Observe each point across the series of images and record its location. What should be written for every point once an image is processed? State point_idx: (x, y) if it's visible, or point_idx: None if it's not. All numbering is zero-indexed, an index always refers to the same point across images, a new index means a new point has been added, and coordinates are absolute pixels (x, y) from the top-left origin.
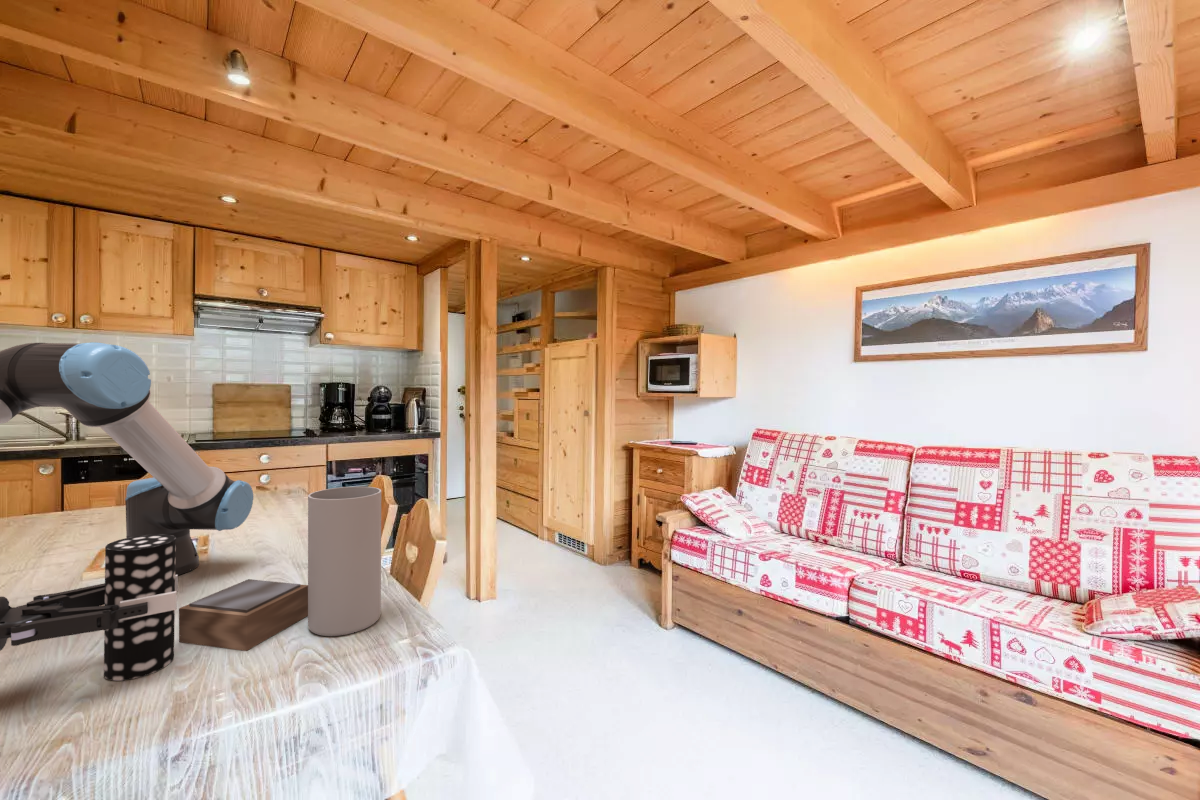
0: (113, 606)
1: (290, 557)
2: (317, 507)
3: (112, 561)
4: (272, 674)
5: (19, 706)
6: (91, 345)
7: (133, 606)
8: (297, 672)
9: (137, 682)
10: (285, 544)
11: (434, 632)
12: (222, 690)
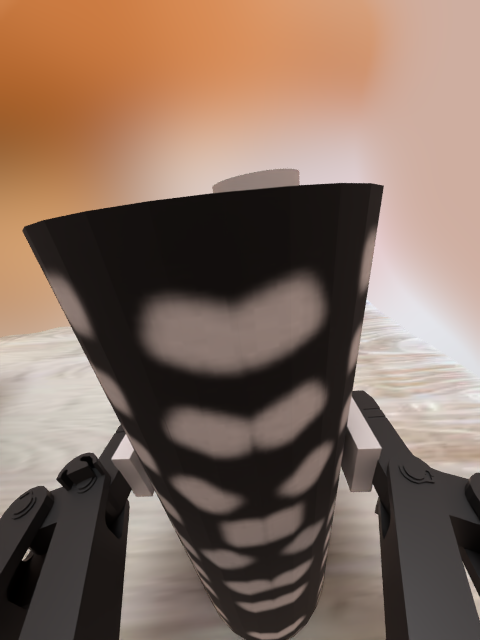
0: (420, 468)
1: (34, 360)
2: (282, 183)
3: (350, 297)
4: (369, 367)
5: None
6: None
7: (380, 418)
8: (370, 353)
9: (342, 534)
10: None
11: None
12: (405, 405)
